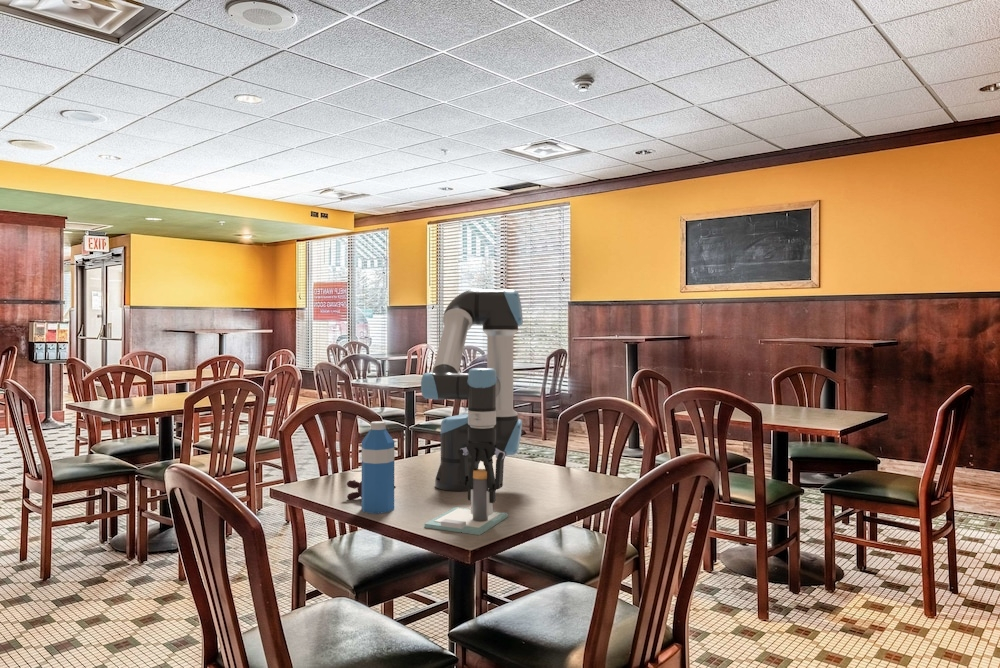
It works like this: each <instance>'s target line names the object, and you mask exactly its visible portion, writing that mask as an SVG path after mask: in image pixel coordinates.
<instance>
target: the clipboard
mask: <svg viewBox="0 0 1000 668" xmlns="http://www.w3.org/2000/svg"><path fill="white" fill-rule="evenodd" d="M508 516H509V513H508V512H499V511H493V514H491V515H490V516H488V520H487V521H474V520H473V514H471V508H467V507H466V508H465V507H461V506H460V507H458V506H455V507H453V508H452V509H450V510H448V511H445V512H444V513H441V514H440V515H438V516H436V517H434V518H432V519H430V520H428V521H426V522H425V523H424V526H423V527H424V528H427V529H431V530H433V529H434V530H440V531H449V532H454V533H461V532H462V533H463V534H470V535H475V536H481V535H483V534H484V533H485V532H487V531H488V530H490V529H491V528H493V527H494V526H496V525H497V524H499V523H501V522H502V521H504V520H505V519H507V518H508Z"/></svg>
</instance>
